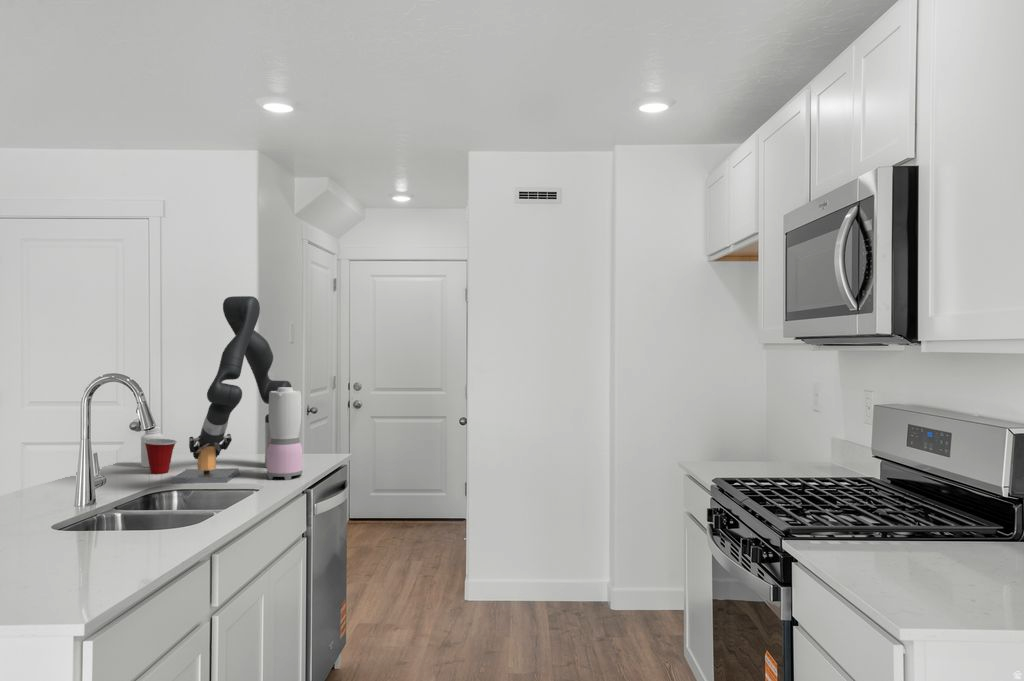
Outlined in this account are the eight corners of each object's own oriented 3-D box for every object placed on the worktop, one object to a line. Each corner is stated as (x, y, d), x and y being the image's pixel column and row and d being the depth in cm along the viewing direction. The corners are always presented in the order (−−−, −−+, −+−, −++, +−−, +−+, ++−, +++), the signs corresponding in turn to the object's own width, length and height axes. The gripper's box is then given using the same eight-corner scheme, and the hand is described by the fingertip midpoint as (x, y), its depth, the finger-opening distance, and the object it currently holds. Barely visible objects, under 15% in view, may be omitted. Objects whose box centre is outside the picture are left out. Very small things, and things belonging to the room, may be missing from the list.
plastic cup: (167, 475, 257) (167, 442, 257) (137, 475, 257) (137, 442, 257) (182, 470, 268) (182, 438, 268) (153, 469, 268) (153, 437, 268)
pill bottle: (141, 464, 278) (141, 426, 278) (164, 463, 282) (164, 425, 281) (140, 468, 271) (140, 428, 271) (163, 466, 274) (164, 427, 274)
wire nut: (200, 467, 255) (200, 439, 254) (217, 467, 255) (217, 439, 255) (195, 470, 249) (195, 441, 249) (213, 470, 250) (213, 441, 249)
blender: (294, 480, 249) (294, 389, 249) (260, 479, 250) (261, 388, 250) (311, 472, 265) (311, 386, 265) (279, 471, 266) (280, 385, 266)
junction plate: (187, 474, 259) (187, 458, 259) (238, 473, 261) (239, 457, 261) (172, 483, 243) (172, 466, 243) (227, 482, 245) (227, 465, 245)
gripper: (234, 416, 250) (224, 446, 260) (190, 418, 242) (182, 449, 251) (238, 433, 246) (228, 462, 256) (194, 436, 237) (185, 466, 247)
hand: (205, 456), depth 253 cm, fingers closed on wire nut, 6 cm apart
